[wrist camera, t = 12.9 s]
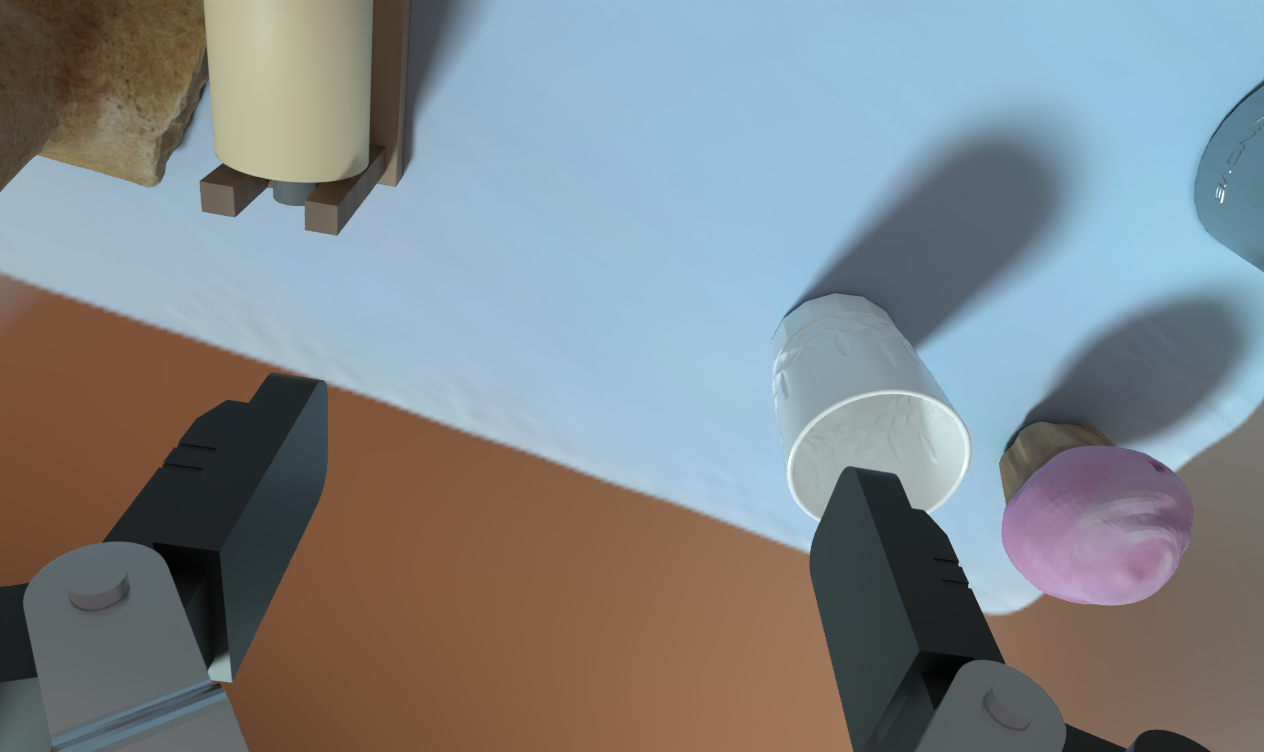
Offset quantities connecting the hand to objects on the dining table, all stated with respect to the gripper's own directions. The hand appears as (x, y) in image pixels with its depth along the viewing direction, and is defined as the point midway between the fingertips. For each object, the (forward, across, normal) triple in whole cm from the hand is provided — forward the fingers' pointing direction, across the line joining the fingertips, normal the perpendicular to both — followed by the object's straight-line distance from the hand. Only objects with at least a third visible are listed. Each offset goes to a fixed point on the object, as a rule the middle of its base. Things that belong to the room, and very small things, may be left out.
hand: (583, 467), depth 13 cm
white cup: (+28, -14, +12) cm, 34 cm away
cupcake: (+28, -28, +16) cm, 43 cm away
